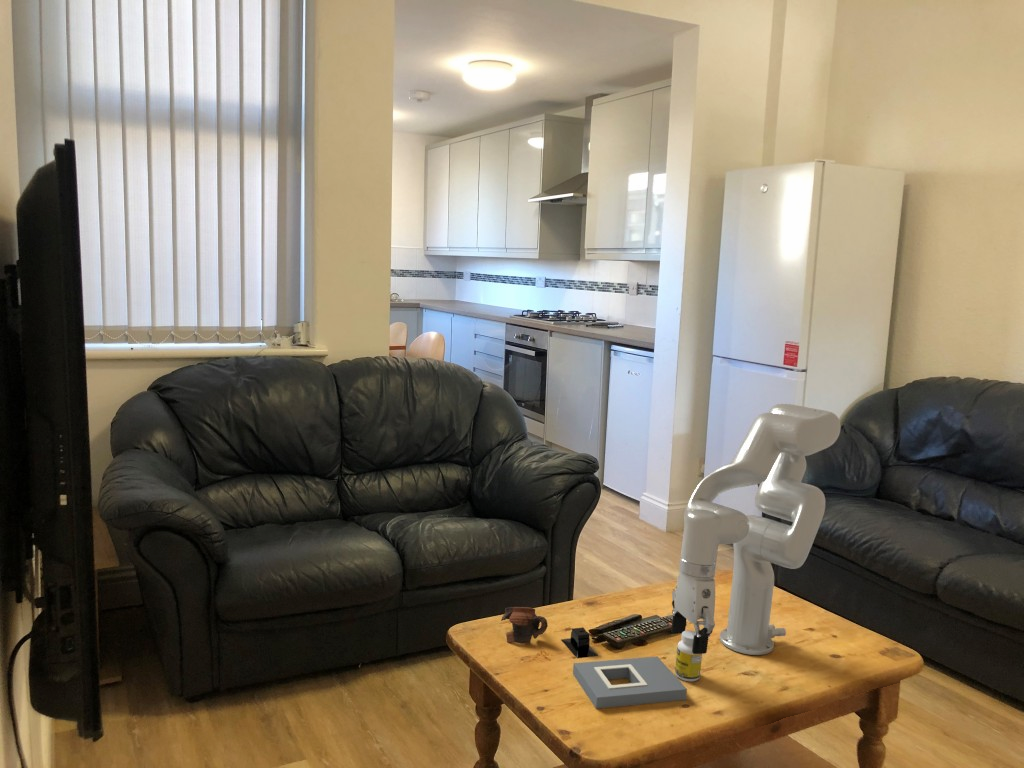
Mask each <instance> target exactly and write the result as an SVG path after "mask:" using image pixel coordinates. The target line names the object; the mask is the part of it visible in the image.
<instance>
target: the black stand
mask: <svg viewBox="0 0 1024 768" xmlns="http://www.w3.org/2000/svg"><path fill="white" fill-rule="evenodd" d="M590 640H591V638H590V633H589V632H588V631H586V629H585V628H584V627H574V628H571V632H570V638H561V639H560V641H561V642H562V643H563V644H564V645H565V646H566V648H567V649H568V650H569V651H570V652H571V653H572V654H573V656H574V657H575V658H576V659H586V658H593V657H599V653H597V652H596V650H595V649H594V648H593V647H592V646H591V645H590V643H591V641H590Z"/></svg>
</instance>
